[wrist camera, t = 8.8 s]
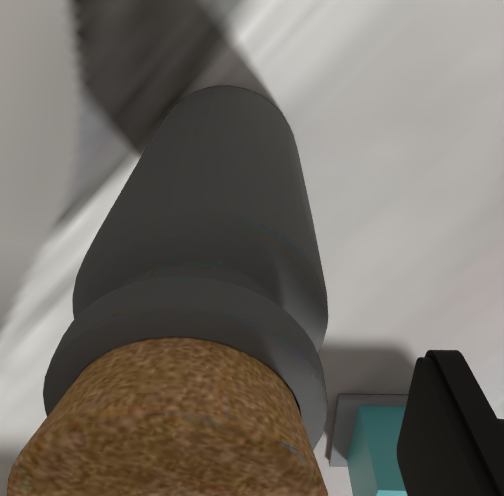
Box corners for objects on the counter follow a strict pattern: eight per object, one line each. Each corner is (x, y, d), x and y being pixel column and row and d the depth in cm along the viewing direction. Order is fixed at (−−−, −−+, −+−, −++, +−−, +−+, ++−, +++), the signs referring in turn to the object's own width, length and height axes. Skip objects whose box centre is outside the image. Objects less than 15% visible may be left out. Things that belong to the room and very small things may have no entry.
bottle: (126, 157, 20) (-110, 523, 7) (222, 49, 18) (128, 296, 5) (230, 242, 22) (191, 644, 9) (326, 155, 20) (454, 524, 7)
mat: (338, 394, 27) (339, 400, 27) (444, 395, 27) (447, 401, 27) (328, 460, 30) (329, 466, 30) (424, 462, 30) (426, 467, 30)
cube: (358, 405, 27) (377, 490, 23) (447, 408, 27) (483, 493, 23) (346, 461, 30) (361, 546, 25) (427, 463, 30) (456, 548, 25)
